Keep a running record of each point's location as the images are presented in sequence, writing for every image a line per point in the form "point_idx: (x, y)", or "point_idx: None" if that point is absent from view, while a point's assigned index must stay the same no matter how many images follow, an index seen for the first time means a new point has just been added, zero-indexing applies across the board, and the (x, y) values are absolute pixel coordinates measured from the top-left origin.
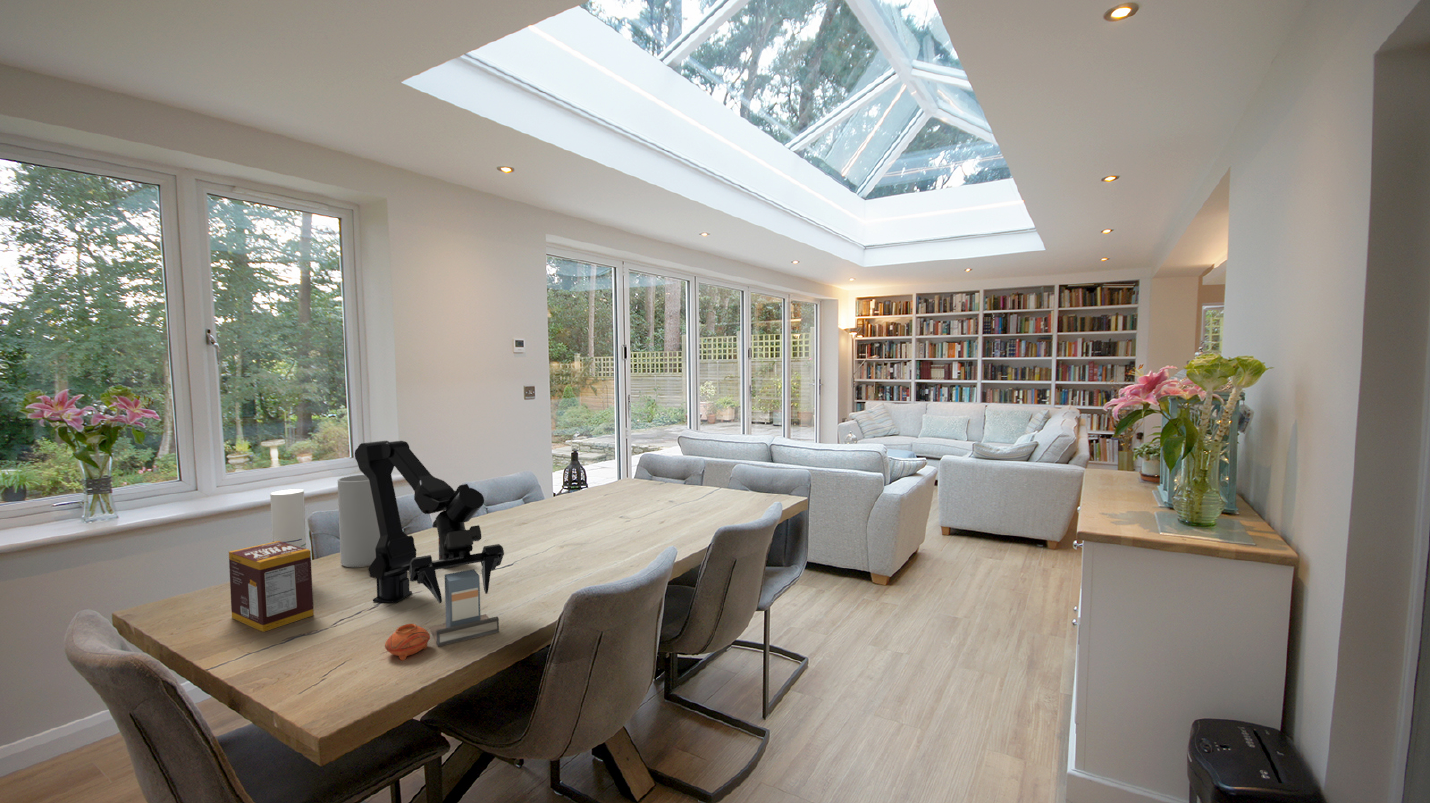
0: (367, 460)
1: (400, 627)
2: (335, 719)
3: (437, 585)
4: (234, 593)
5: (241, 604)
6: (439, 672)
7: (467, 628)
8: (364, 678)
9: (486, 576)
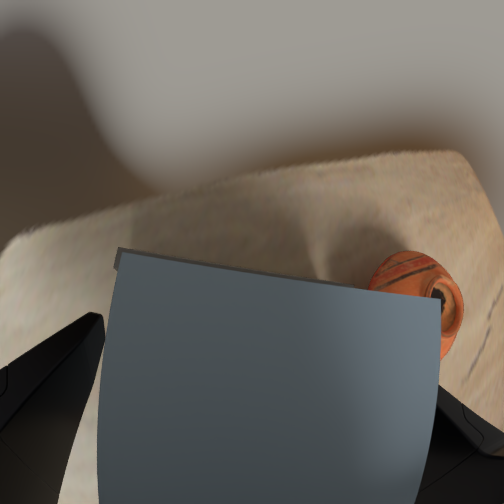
0: None
1: (454, 329)
2: (460, 172)
3: (445, 406)
4: None
5: None
6: (339, 181)
7: (245, 268)
8: (451, 269)
9: (33, 373)
